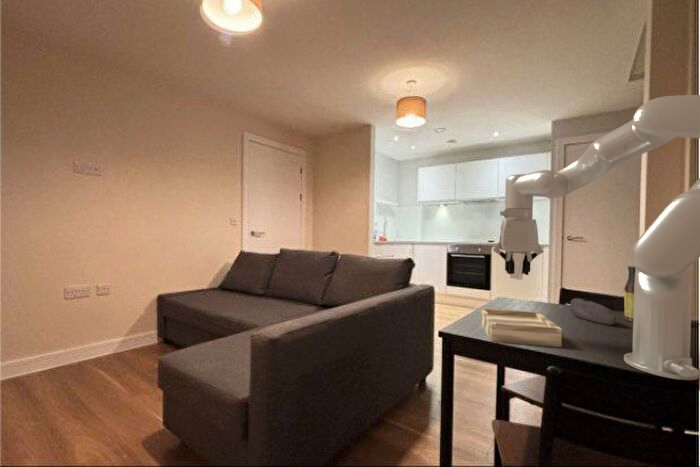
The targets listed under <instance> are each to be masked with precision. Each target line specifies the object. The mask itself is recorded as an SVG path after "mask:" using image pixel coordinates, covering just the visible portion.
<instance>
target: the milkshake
mask: <svg viewBox="0 0 700 467" xmlns="http://www.w3.org/2000/svg"><path fill="white" fill-rule="evenodd" d="M525 258H526V252H512V254H511V258H510V259H511V262H512V274H509V278H510V279H511V280H519V281H521V280H523V277H524V273H523V271H524V264H525Z"/></svg>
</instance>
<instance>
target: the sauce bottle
mask: <svg viewBox="0 0 700 467" xmlns="http://www.w3.org/2000/svg"><path fill="white" fill-rule="evenodd" d="M627 270H628V278H627V280H626V284H625V286H624V288H623V292H624V295H623V296H624V297H623V298H624V299H623V300H624V301H623V302H624V304H623V305H624V317H625V318H624V319H625V320H627V321H629V322H632V323H633V311H634V283H635V266H634V265H628V266H627Z"/></svg>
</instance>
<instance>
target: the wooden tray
mask: <svg viewBox="0 0 700 467" xmlns="http://www.w3.org/2000/svg"><path fill="white" fill-rule="evenodd" d="M479 311H480V312H479V313H480V314H479V319H480V320H479V324H480V325H481V326H482V329H483V330H484V332H485V333H486V335H487V336H488V338H489V340H490V342H497V343H499V342H500V343H512V344H521V345H523V344H524V345H533V346H545V347H555V348H558V347H559V348H562V339H563V338H562V336H563V335H562V334H563V332H562V330H563V329H562V328H561V327H560V326H558V325H557V324H556V323H554V322H553V321H551V320H550V319H548V318H547V317H546V316H544V315H543V314H541V312H539V311H530V310H529V311H527V310H512V309H511V310H510V309H497V308H496V309H495V308H494V309H493V308H481V307H480V309H479Z"/></svg>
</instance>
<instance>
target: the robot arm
mask: <svg viewBox="0 0 700 467" xmlns="http://www.w3.org/2000/svg"><path fill="white" fill-rule="evenodd" d="M675 138H685V139H700V94H685V95H683V94H681V95H679V94H678V95H665V96H661V97H656V98H653V99H650V100H648V101H646V102H644V103H643V104H642V105H640V106H639V107H638V108H637V109H636V110H635V112H634V114H633V117H632V119H631V120H630V121H628V122H626V123H625V124H623V125H621V126H619V127H618V128H615V129H614V130H612V131H610V132H608V133H606V134H605V135H602V136H601V137H599V138H597V139H596V140H594V141H592V142H591V143H590V144H589V146H588V147H587V148H586V150H585V152H584V153H583V154H582V155H581V156H580V157H579V158H578V159H577V160H575V161H574V162H572V163H571V164H569V165H567V166H565V167H563V168H562V169H559V170H558V171H553V170H548V169H543V170H537V171H533V172H530V173H521V174H520V173H519V174H511V175H509V176H508V177H506V179H505V197H504V198H505V200H504V202H505V203H504V204H505V205H504V210H503V211H501V210H500V211H499V215H500V216H503V217H504V219H502V221H501V226H500V231H499V232H500V233H499V241H498V243H497V244H496V245H495V246H494V248H493V250H492V251H493V252H494V253H496V254H498V255H499V256H500V257H501V258H502V259H503V260H504V270H505V272H506V274H508V275H510V274H512V262H511V259H510V258H511V254H512V252H526V258H525V264H524V271H523V275H525V276H529V273H530V272H531V262H532V261H533V260H534V259H535V258H537V257H538V256H539V255H542V254H543V253H544V249H543V248H542V246H540V244H539V231H538V225H537V219H535V218H534V219H533V216H534V213H533V210H534V209H533V208H534V197H542V198H546V199H558V198H561V197H563V196H566V195H568V194H570V193H572V192H575V191H577V190H579V189H581V188H582V187H584V186H587V185H588V184H590V183H592V182H594V181H595V180H597V179H599V178H600V177H602V176H604V175H606V174H607V173H609V172H610V171H611V170H613V169H616V168H617V167H619V166H621V165H623V164H625V163H627V162H629V161H631V160H633V159H635V158H637V157H640V156H641V155H643V154H646V153H648V152H650V151H652V150H654V149H656V148H659V147H660V146H663V145H664V144H666V143H668V142H670V141H673V140H674V139H675ZM503 251H504V252H503ZM629 255H630V260H631V263H632V266H635V283H634V311H633V322H632V352H628V353H625V354H624V355H623V360H624V362H625V363H626V364H627V365H629V366H631V367H633V368H634V369H637V370H639V371H641V372H645V373H646V374H647V373H648V374H651V375H654V376H659V377H663V378H665V379H666V378H668V379H672V380H673V379H674V380H679V381H680V380H682V381H696V380H698V379H700V375H699V374H700V370H699V369H698V368H696V367H694V366H693V358H692V357H691V332H692V331H691V330H692V328H691V325H692V306H693V305H692V304H693V303H692V301H693V296H692V295H693V272H694V271H693V270H694V264H695V262H697V261H698V259H700V177H699V178H698V179H697V180H696V181H695V182H694V184H693V185H692V186H691V187H690V188H689V189H688V190H687V191H685V192H682V193H681V194H679V195H677V196H675V198H673V199H672V200H671V201H670V202H669V203H668V204H667V205H666V206H665V207H664V209H663V210H661V212H660V214H658V216H657V217H656V218H655V219H654V220H653V222H651V224H650V225H649V226H648V228H646V230H645V231H644V232H643V233H642V234H641V236H640V237H639V238H637V240H636V241H635V242H634V244H633V245H632V246H631V249H630V254H629Z"/></svg>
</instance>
